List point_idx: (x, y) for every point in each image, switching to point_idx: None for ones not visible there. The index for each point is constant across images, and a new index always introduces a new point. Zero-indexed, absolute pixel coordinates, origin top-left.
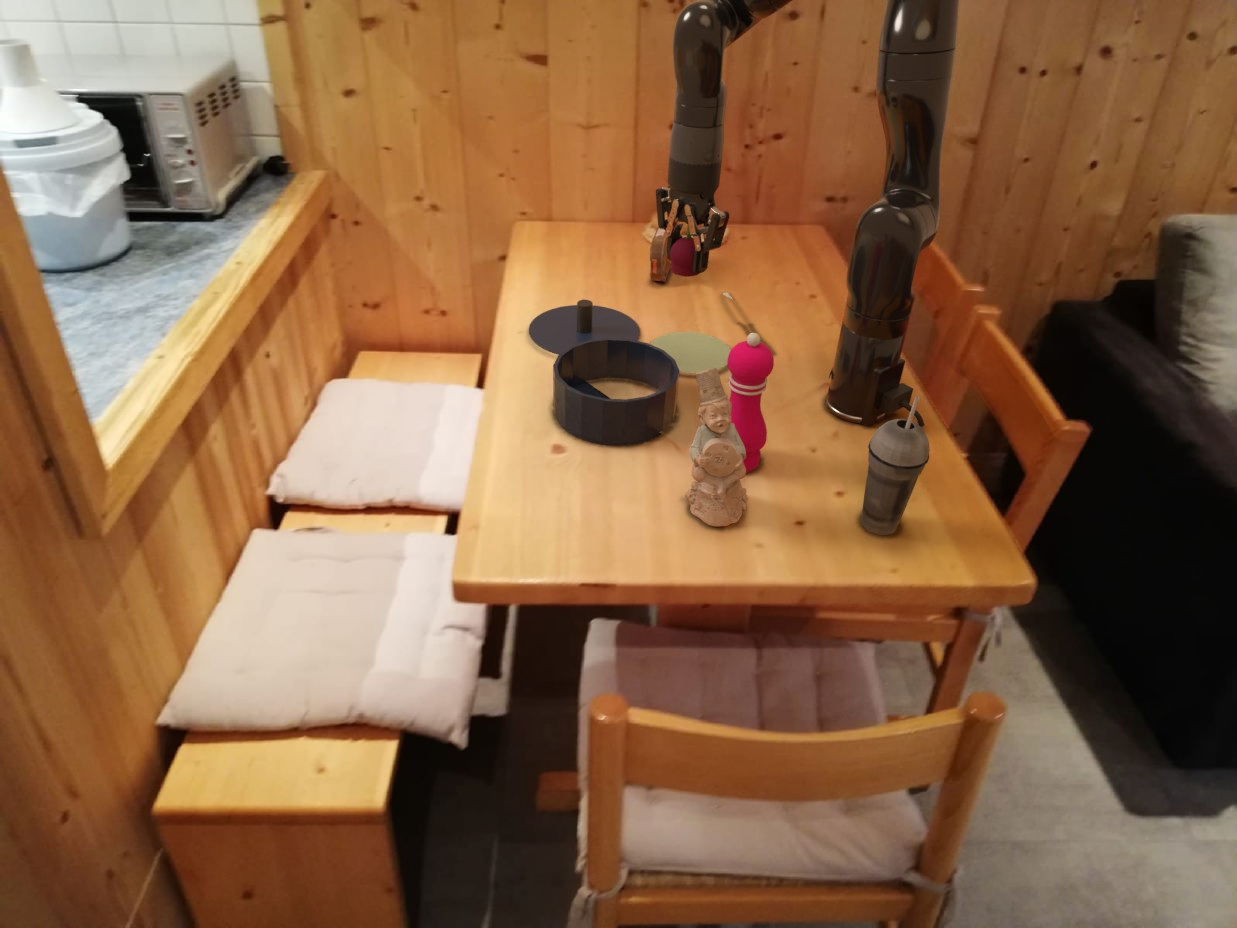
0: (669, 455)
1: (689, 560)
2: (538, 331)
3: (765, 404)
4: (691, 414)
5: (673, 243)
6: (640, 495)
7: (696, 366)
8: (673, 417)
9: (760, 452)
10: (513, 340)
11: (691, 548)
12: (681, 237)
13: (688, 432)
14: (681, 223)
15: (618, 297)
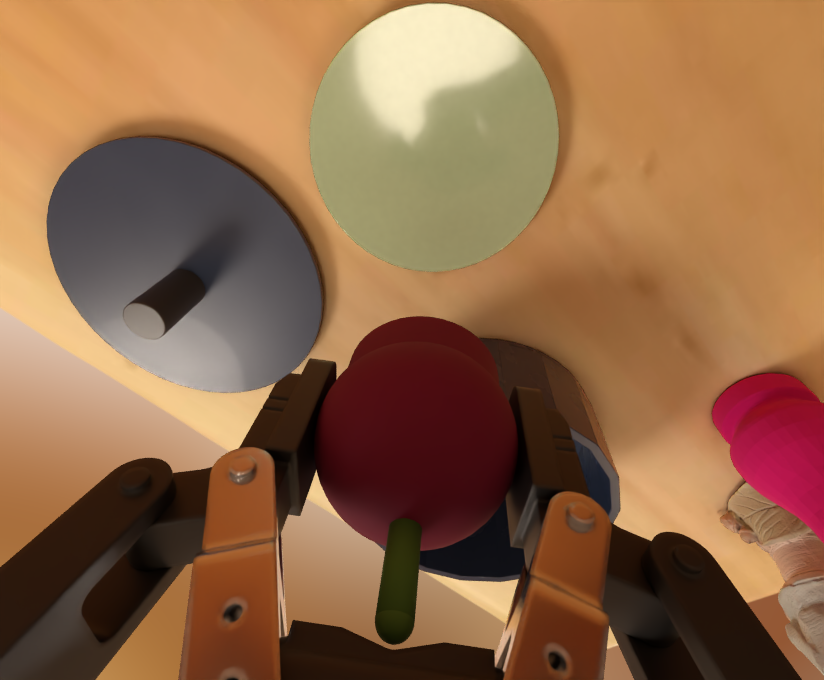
0: (635, 458)
1: (775, 572)
2: (154, 359)
3: (740, 201)
4: (599, 352)
5: (309, 476)
6: (650, 532)
7: (498, 211)
8: (593, 410)
9: (819, 400)
10: (157, 390)
11: (768, 560)
12: (297, 448)
13: (628, 397)
14: (281, 581)
15: (4, 28)
